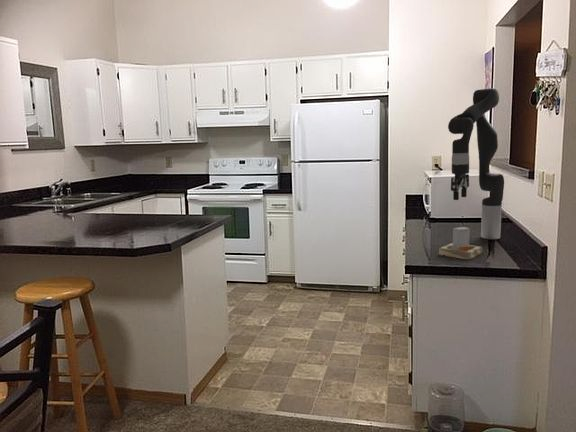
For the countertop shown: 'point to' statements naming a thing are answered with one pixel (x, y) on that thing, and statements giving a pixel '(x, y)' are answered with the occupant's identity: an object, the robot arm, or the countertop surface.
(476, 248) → the birch stand
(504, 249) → the countertop surface
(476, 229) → the countertop surface
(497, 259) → the countertop surface
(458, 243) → the skincare box
